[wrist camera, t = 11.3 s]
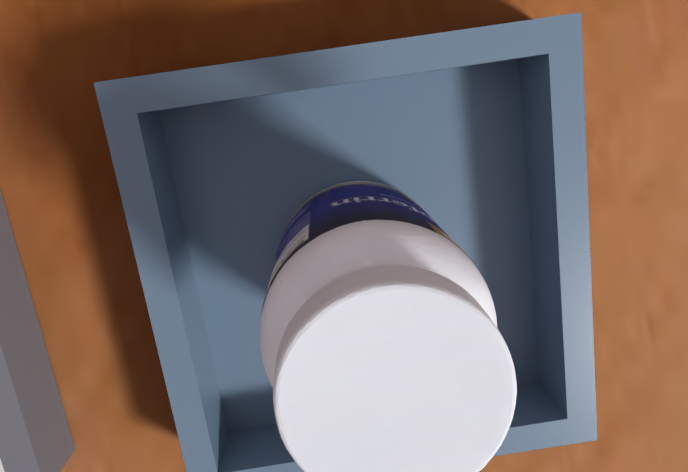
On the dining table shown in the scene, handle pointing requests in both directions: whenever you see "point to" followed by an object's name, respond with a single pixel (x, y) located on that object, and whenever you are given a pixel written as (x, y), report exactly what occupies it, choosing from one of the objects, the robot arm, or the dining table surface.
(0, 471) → the robot arm
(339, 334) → the pill bottle
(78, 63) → the dining table surface
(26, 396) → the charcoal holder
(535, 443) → the parts tray
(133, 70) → the dining table surface
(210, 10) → the dining table surface
